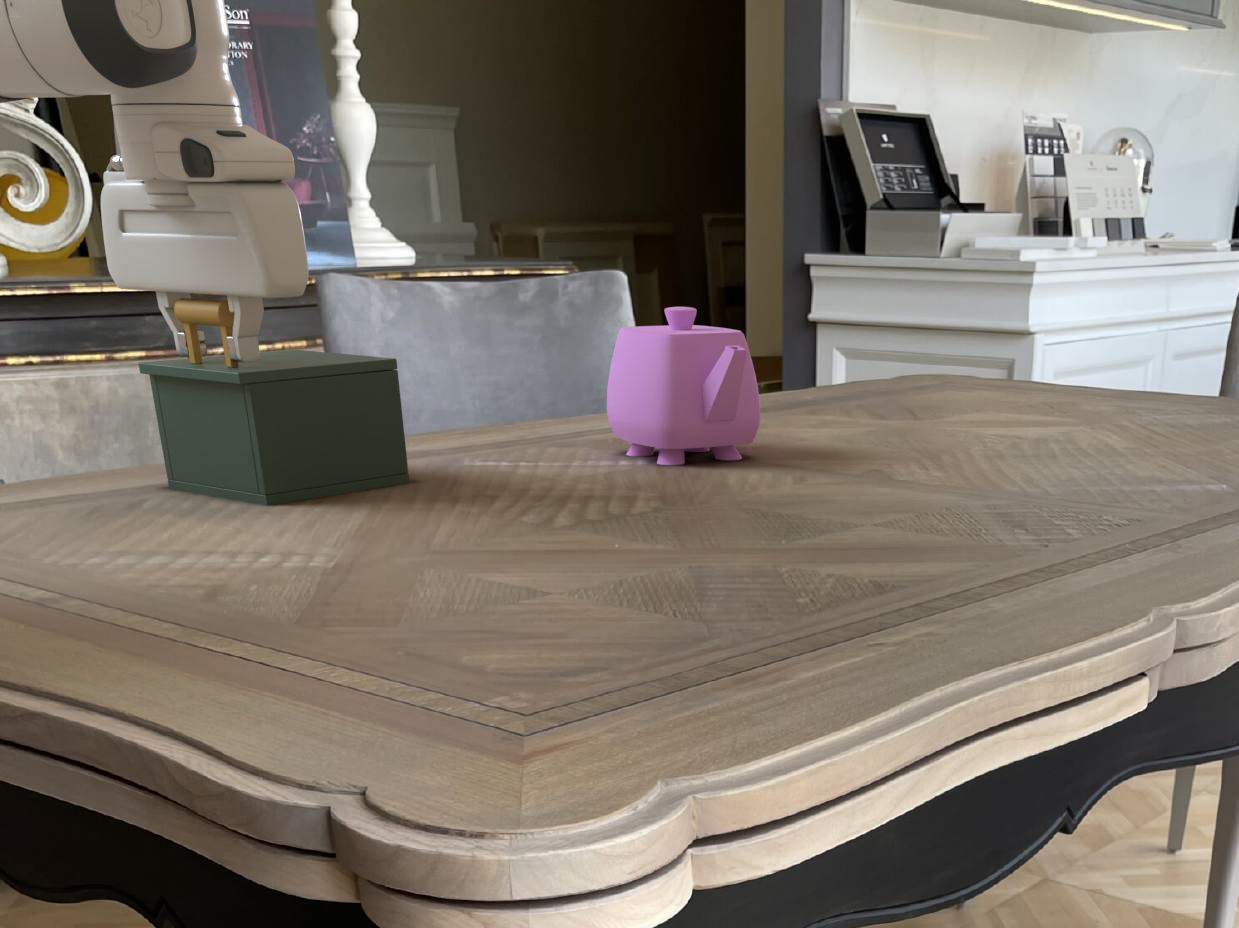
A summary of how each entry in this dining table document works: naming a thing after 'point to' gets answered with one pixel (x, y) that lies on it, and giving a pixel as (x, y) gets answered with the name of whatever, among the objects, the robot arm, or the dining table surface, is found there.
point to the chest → (282, 436)
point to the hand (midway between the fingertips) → (219, 359)
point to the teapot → (682, 389)
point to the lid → (263, 370)
